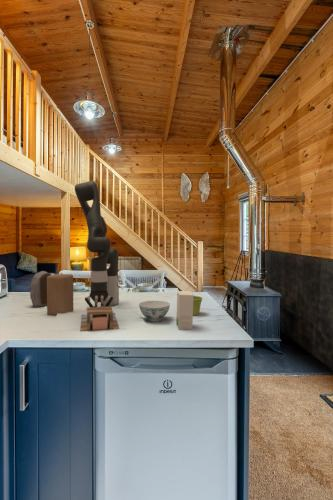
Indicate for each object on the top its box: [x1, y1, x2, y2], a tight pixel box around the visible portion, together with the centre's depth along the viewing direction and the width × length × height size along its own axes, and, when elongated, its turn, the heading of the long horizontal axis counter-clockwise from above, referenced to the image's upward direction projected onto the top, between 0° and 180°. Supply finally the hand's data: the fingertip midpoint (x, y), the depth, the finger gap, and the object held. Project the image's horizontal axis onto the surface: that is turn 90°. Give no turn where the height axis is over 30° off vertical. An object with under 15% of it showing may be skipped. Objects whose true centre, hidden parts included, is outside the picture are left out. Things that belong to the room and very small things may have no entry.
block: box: [46, 273, 74, 316], centre depth 156 cm, size 10×10×20 cm
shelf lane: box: [79, 306, 120, 332], centre depth 137 cm, size 26×16×9 cm, turn 14°
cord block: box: [92, 314, 107, 331], centre depth 134 cm, size 18×6×5 cm, turn 14°
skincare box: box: [175, 290, 195, 330], centre depth 134 cm, size 8×7×16 cm
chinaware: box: [138, 300, 171, 322], centre depth 146 cm, size 15×15×8 cm
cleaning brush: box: [29, 270, 52, 307], centre depth 174 cm, size 15×8×20 cm, turn 160°
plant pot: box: [193, 295, 203, 316], centre depth 157 cm, size 9×9×9 cm
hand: (99, 317), depth 138 cm, fingers closed on cord block, 1 cm apart
